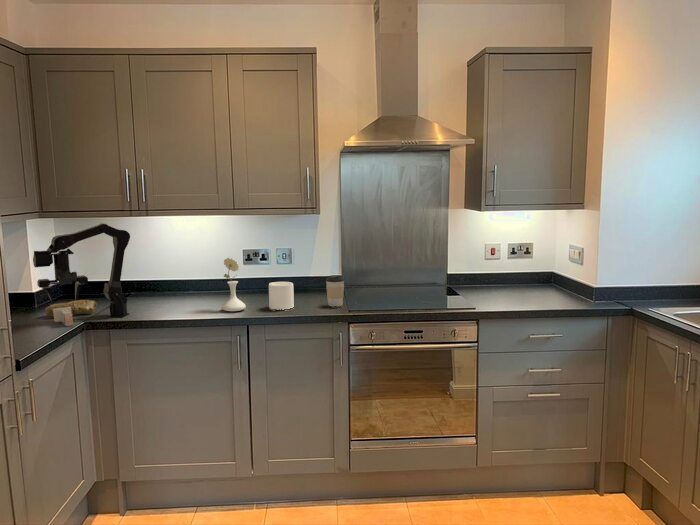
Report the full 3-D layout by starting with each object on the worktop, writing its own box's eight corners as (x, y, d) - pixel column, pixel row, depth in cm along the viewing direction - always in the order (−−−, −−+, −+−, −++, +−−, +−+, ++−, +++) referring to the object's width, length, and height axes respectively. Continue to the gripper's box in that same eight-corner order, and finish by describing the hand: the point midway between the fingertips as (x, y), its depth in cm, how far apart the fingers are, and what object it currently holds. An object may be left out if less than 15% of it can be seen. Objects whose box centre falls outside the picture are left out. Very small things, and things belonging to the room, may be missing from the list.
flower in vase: (250, 310, 261) (248, 258, 257) (228, 314, 253) (226, 260, 250) (236, 306, 271) (234, 255, 267) (215, 309, 263) (213, 257, 260)
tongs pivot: (72, 319, 245) (71, 307, 245) (55, 322, 241) (54, 309, 240) (71, 318, 247) (70, 306, 246) (54, 320, 243) (53, 309, 242)
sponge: (96, 313, 264) (50, 307, 258) (98, 298, 262) (52, 291, 256) (90, 324, 251) (42, 318, 246) (92, 309, 249) (43, 302, 244)
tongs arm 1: (69, 325, 233) (68, 314, 233) (65, 326, 232) (64, 314, 232) (63, 320, 243) (63, 309, 242) (60, 320, 242) (59, 309, 241)
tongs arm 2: (73, 325, 234) (72, 313, 233) (69, 325, 233) (68, 314, 233) (67, 319, 244) (66, 308, 243) (63, 320, 243) (63, 309, 242)
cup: (289, 311, 259) (288, 286, 257) (265, 310, 261) (265, 285, 260) (296, 305, 270) (296, 281, 269) (274, 305, 273) (273, 281, 271)
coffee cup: (323, 304, 272) (322, 274, 270) (339, 303, 276) (339, 273, 274) (331, 308, 264) (330, 277, 262) (347, 306, 268) (347, 276, 266)
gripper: (39, 269, 223) (43, 307, 225) (89, 265, 234) (92, 301, 236) (35, 266, 231) (38, 302, 233) (83, 262, 242) (86, 297, 245)
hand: (64, 301), depth 237 cm, fingers open, 9 cm apart
